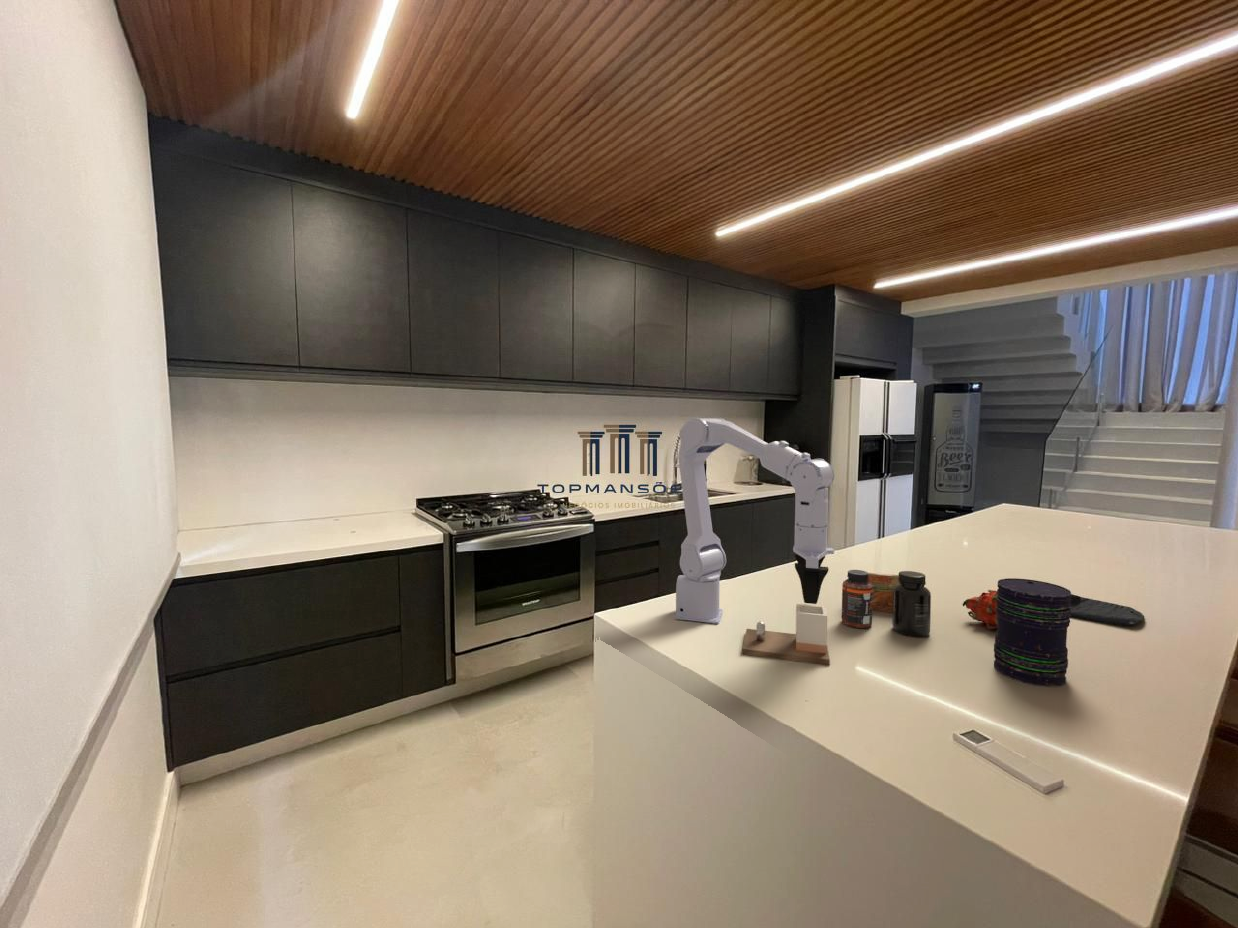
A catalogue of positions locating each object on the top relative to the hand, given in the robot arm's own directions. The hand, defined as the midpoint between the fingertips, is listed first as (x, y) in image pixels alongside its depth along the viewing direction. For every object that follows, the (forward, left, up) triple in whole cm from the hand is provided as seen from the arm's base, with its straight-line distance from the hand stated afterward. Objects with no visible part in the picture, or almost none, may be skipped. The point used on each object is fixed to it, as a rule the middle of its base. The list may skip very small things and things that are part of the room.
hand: (809, 596), depth 96 cm
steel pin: (-9, -1, -9) cm, 13 cm away
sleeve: (0, -1, -9) cm, 9 cm away
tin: (+17, +27, -11) cm, 34 cm away
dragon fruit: (+37, +22, -11) cm, 45 cm away
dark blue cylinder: (+35, +1, -11) cm, 37 cm away
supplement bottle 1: (+10, +16, -11) cm, 22 cm away
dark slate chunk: (+58, +40, -11) cm, 71 cm away
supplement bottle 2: (+20, +15, -11) cm, 28 cm away
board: (-4, -1, -10) cm, 11 cm away
